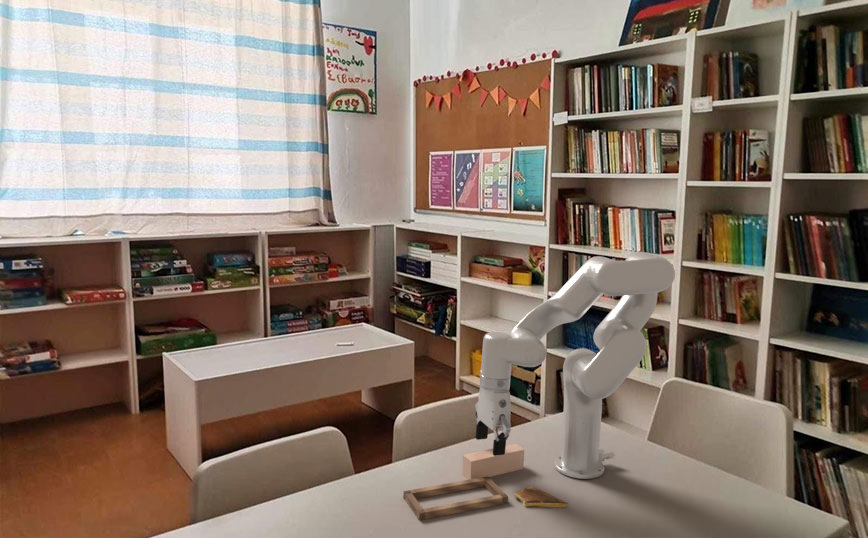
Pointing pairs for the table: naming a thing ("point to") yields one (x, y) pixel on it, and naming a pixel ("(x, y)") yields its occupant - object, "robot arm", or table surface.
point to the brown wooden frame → (457, 507)
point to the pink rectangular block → (493, 462)
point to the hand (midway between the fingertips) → (489, 446)
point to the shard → (538, 498)
